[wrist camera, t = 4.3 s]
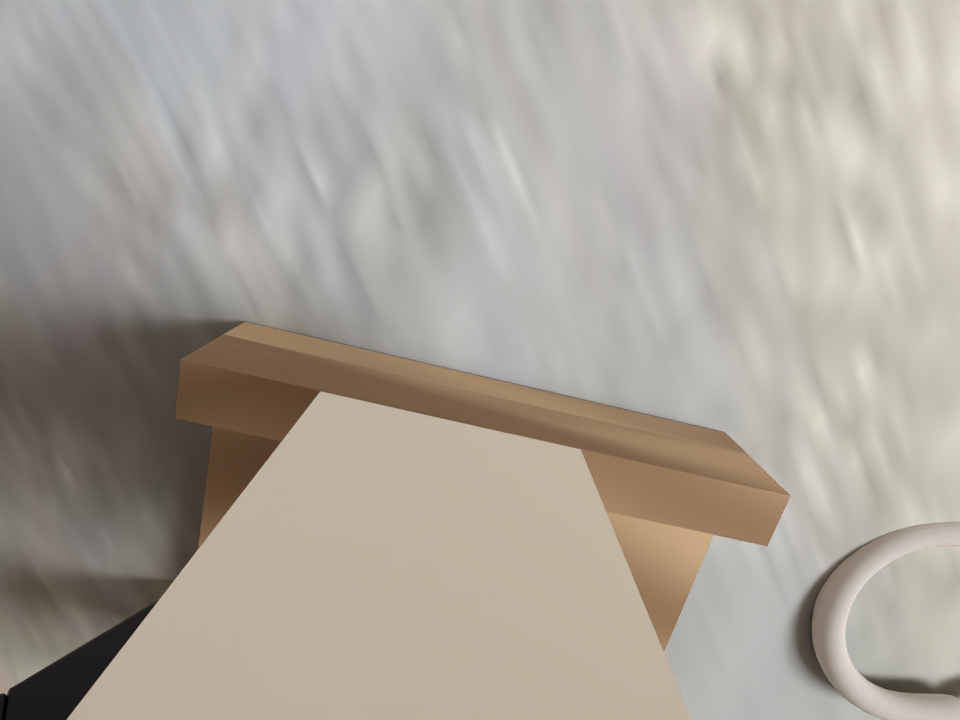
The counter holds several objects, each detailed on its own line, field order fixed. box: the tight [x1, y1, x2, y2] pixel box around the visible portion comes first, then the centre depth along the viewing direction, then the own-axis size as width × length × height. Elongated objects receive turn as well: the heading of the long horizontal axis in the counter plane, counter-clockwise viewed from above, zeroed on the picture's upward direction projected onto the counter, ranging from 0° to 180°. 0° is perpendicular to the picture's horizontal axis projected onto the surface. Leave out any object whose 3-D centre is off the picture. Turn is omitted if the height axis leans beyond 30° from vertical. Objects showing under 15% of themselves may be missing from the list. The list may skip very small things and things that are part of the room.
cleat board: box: [175, 322, 790, 652], centre depth 12 cm, size 9×14×6 cm, turn 76°
